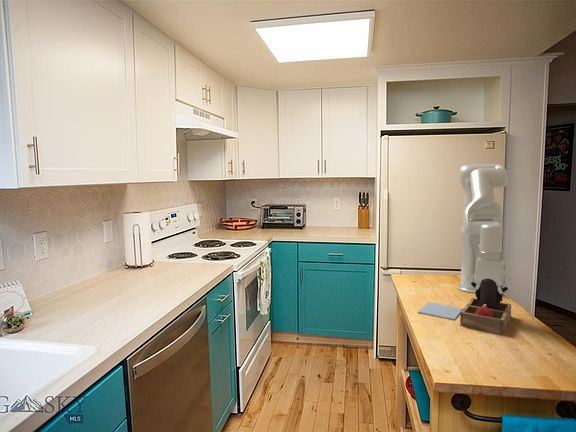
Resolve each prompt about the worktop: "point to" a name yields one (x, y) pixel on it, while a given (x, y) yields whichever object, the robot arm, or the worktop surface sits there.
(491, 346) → the worktop surface
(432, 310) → the mat
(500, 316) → the rack
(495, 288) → the vinegar
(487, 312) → the onion
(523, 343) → the worktop surface
